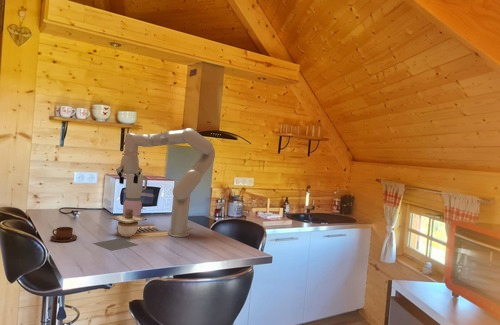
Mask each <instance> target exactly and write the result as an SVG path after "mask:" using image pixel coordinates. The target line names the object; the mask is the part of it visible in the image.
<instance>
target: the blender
mask: <svg viewBox="0 0 500 325" xmlns="http://www.w3.org/2000/svg"><path fill="white" fill-rule="evenodd" d="M125 175H126V178H125V200H124V201H123V205H122V206H123V207H122V215H125V211H126V209H132V210H133V215H135V216H139V217H142V210H143V207H144V206H143V205H142V204H143V203H142V200H141V196H142V192H143V191H146V190H147V188H148V178H147V176H145V175H144V174H143V173H141V174H140V175H139V177H138V183H137V184H136V183H133V180H134V176H135V175H134V174H125ZM143 186H144V187H143Z"/></svg>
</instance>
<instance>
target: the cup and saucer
mask: <svg viewBox="0 0 500 325" xmlns="http://www.w3.org/2000/svg"><path fill="white" fill-rule="evenodd" d="M73 230H74V228H73V227H70V226H60V227H56V228H55V229H53V230H52V231H51V232H52V234H53V235H51V236H49V237H50V240H51V241H54V242H56V243H57V242H58V243H68V242H73V241H75V240H76V239H77V238H78V236H77V235H76V234H74V233H73ZM55 231H56V232H55Z"/></svg>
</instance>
